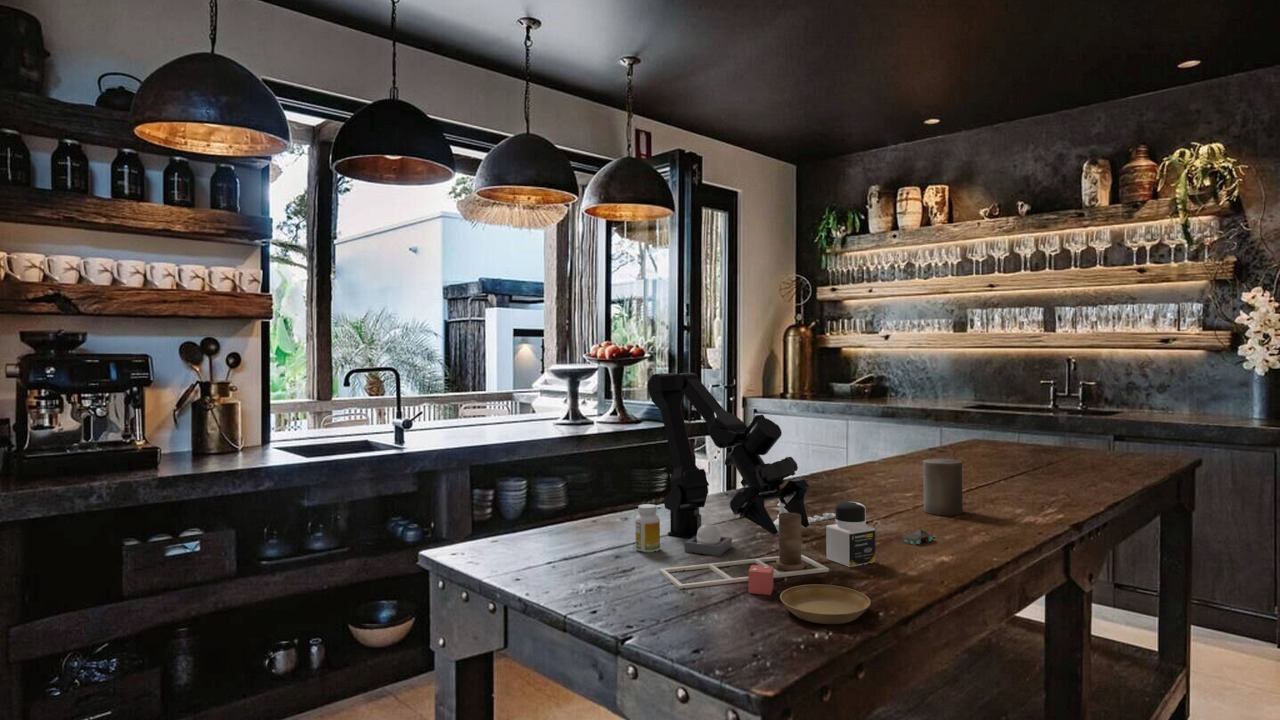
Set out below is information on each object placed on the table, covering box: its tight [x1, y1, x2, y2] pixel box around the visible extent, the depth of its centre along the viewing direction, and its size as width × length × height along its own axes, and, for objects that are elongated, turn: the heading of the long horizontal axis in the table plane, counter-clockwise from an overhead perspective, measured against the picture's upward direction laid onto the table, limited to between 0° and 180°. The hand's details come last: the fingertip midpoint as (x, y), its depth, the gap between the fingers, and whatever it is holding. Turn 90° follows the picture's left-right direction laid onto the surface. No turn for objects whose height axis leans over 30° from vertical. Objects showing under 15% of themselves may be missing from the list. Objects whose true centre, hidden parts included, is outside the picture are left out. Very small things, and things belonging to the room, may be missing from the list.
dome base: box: [684, 535, 733, 557], centre depth 165 cm, size 8×8×2 cm
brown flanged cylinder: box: [776, 513, 805, 572], centre depth 152 cm, size 6×6×10 cm
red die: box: [747, 564, 774, 596], centre depth 137 cm, size 4×4×4 cm
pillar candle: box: [922, 455, 964, 517], centre depth 199 cm, size 10×10×15 cm
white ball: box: [697, 522, 721, 545], centre depth 165 cm, size 5×5×5 cm
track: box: [658, 553, 830, 590], centre depth 149 cm, size 32×11×1 cm, turn 108°
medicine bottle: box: [825, 501, 876, 568], centre depth 155 cm, size 7×7×12 cm
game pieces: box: [771, 506, 936, 546], centre depth 187 cm, size 45×13×6 cm, turn 35°
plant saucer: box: [779, 583, 871, 625], centre depth 126 cm, size 15×15×3 cm
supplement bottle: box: [635, 503, 661, 553], centre depth 165 cm, size 5×5×10 cm
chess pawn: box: [773, 499, 787, 532], centre depth 182 cm, size 5×5×9 cm
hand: (792, 530), depth 151 cm, fingers open, 9 cm apart
